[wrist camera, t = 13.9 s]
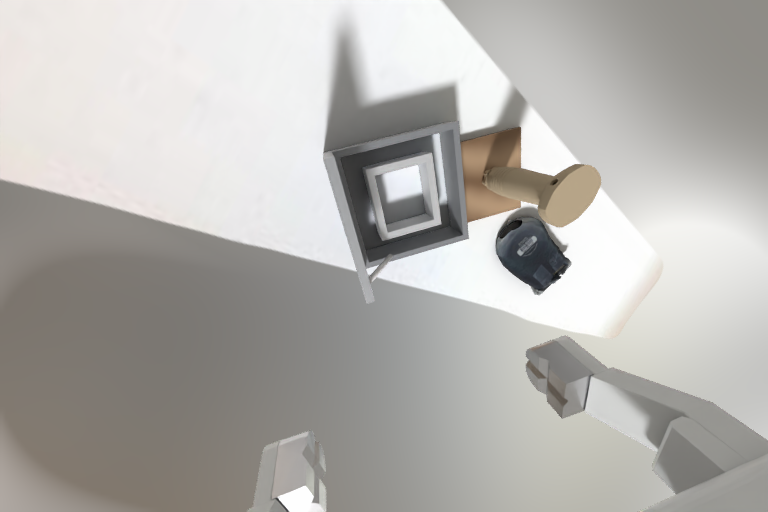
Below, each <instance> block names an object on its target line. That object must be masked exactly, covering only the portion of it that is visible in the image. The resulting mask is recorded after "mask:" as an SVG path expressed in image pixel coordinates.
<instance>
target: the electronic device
mask: <svg viewBox="0 0 768 512" xmlns="http://www.w3.org/2000/svg"><path fill="white" fill-rule="evenodd" d="M519 220H522V225H521V226H520V227H518V228H517V229H515V230H511V231H510V232H509V233H508V234H507V235H506V236H505V237H504V238H502V239H500V238H499V237H500V235H501V233H502V232H503V230H504V229H505V228H506V227H507V226H508V225H510V224H511V223H513V222H515V221H519ZM503 230H502V231H501V233H500V235H499V237H498V240H497V244H496V254H497V255H498V257H499V259H500V261H501V263H502V264H503V266H504V267H505V268H507V269H508V270H509V271H510V272H511V273H512V274H513V275H515V276H516V277H517V278H519V279H520V280H521V281H523V282H525V283H526V284H529V285H530V286H531V288H532V290H533V292H534V294H535V295H540V294H542V293H543V292H544V291H545V290H546V289H547V288H548V287H549V286H550V285H551V284H552V283H555V282H556V281H557V280H559V279H560V278H561V276H559V275H560V274H562V275H563V274H564V273H565V271H566V270H567V269H568V268H569V267H570V266H571V261H570V260H569V259H568V258H566V257H565V256H564V255H563V253H562V252H561V251H560V250H559V247H558V246H557V245H556V244H555V243H554V242H553V240H552V239H551V238H550V236H549V235H548V233H547V231H546V229H545V227H544V225H543V223H542V222H541V221H539V220H538V219H536V218H533V217H523V218H519V219H516V220H513V221H512V220H508V223H507V225H506V226H505V227H504V228H503Z"/></svg>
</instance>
